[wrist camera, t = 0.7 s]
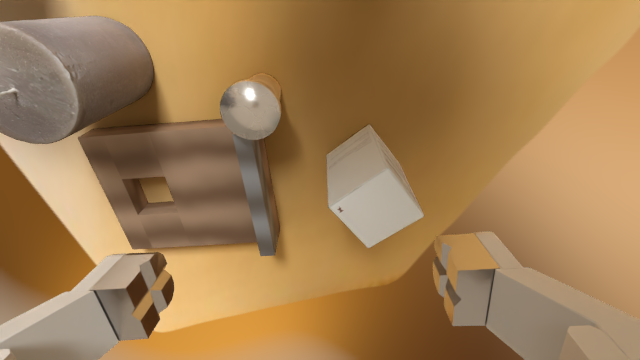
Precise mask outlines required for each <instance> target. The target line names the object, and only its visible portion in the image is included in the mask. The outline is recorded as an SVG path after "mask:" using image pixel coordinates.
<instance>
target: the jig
mask: <svg viewBox="0 0 640 360" xmlns="http://www.w3.org/2000/svg"><path fill="white" fill-rule="evenodd" d="M78 140H79V142H80V144H81V146H82V148H83V150H84V152H85V154H86V156H87V158H88V160H89V162H90V164H91V166H92V168H93V170H94V172H95V174H96V176H97V178H98V180H99V182H100V184H101V186H102V188H103V190H104V192H105V194H106V196H107V198H108V200H109V202H110V204H111V206H112V208H113V210H114V212H115V214H116V216H117V218H118V220H119V223H120V225H121V227H122V229H123V231H124V233H125V235H126V237H127V239H128V241H129V243H130V245H131V247H132V249H148V248H166V247H183V246H200V245H217V244H235V243H252V242H258V247H259V251H260V255H261V256H272V255H275V253H276V247H277V242H278V237H279V232H280V225H279V219H278V214H277V208H276V203H275V197H274V192H273V186H272V181H271V176H270V170H269V165H268V159H267V154H266V148H265V143H264V138H262V139H258V140H249V139H244V138H242V137H239V136H237V135H236V134H234V133H233V132H232V131H231V130H230V129H229V128H228V127H227V126H226V125H225V123H224V121H223V119H216V120H203V121H190V122H177V123H165V124H152V125H139V126H126V127H113V128H101V129H92V130H91V131H89V132H87V133H85V134H84V135H82V136H80V137H78ZM163 176H165V179H166V181H167V184H168V187H169V189H170V192H171V195H172V198H173V200H174V202H160V203H148V202H147V199H146V197H145V195H144V192H143V190H142V187H141V185H140V183H139V180H138V178H149V177H163Z"/></svg>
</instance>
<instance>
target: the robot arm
mask: <svg viewBox="0 0 640 360" xmlns="http://www.w3.org/2000/svg"><path fill="white" fill-rule="evenodd" d="M434 249H435V251H436V254H437V257H436V258H435V259H434V260H433V275H434V282H435V285H436V288H437V291H438V293H439V294H440V295H441V296H443V297H444V308H445V310H446V312H447V315H448V317H449V319H450V321H451V324H452V326H484V325H485V326H486V327H487V328H488V329H489V330H490V331H492V332H493V333H494V334H495V335H496V336H497V337H498V338H500V339H501V340H502V341H503V342H505V343H506V344H507V345H508V346H509V347H510V348H512V349H513V350H514V351H515V352H516V353H518V354H519V355H520V356H521V357H523V358H524V359H525V360H640V319H638V318H635V317H634V316H631V315H629V314H627V313H625V312H622V311H621V310H619V309H617V308H614V307H612V306H610V305H608V304H606V303H604V302H602V301H599V300H597V299H595V298H593V297H591V296H589V295H587V294H585V293H582V292H580V291H578V290H576V289H574V288H572V287H570V286H568V285H566V284H564V283H561V282H559V281H557V280H555V279H553V278H551V277H549V276H547V275H544V274H542V273H540V272H538V271H536V270H534V269H531V268H523V267H522V265H521V264H520V263H519V262H518V261H517V260H516V259H515V258H514V256H513V255H512V254H511V252H510V251H509V250H508V249H507V248H506V247H505V245H504V244H503V243H502V242H501V241H500V240H499V238H498V237H497V236H496V235H495V234H494V233H493V232H491V231H486V232H475V233H470V234H469V233H468V234H455V235H441V236H436V237H435V240H434ZM166 265H167V262H166V260H165V257H164V255H163V254H161V253H159V252H155V253H129V254H113V255H110V256H107V257H106V258H105V259H104V260H103V261H102V262H101V263H100V264H99V265H97V266H96V268H94V269H93V270H92V271H91V272H90V273H89V274H88V275H87V276H86V277H85V278H84V279H83V280H82V281H81V282H80V283H79V284H78V285H77V286H76V287H75V288H73V289H72V290H71V291H70V292H64V293H62V294H60V295H58V296H56V297H54V298H52V299H51V300H49V301H47V302H45V303H43V304H41V305H39V306H37V307H35V308H33V309H31V310H29V311H27V312H25V313H23V314H21V315H19V316H18V317H16V318H14V319H12V320H10V321H8V322H6V323H4V324H2V325H0V360H98V359H100V358H101V357H102V356H103V355H104V354H105V353H107V352H108V351H109V350H110V349H111V348H112V347H114V346H115V345H116V344H117V343H119V341H121V340H135V339H148V338H149V336H150V335H151V333H152V331H153V330H154V328H155V327H156V325H157V323H158V322H159V320H160V317H159V313H160V312H161V311H163V310H164V309H165V308H167V307H168V305H169V304H170V302H171V300H172V297H173V293H174V282H173V279H172V276H171V275H170V274H169V273H168V272H167V271H165V270H164V269H165V267H166Z"/></svg>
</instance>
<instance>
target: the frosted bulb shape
mask: <svg viewBox="0 0 640 360" xmlns="http://www.w3.org/2000/svg"><path fill="white" fill-rule="evenodd" d="M280 98H281V87H280V85H279V83H278V81H277V80H276V79H275V78H274V77H272V76H271V75H269V74H266V73H258V74H255V75H253V76H251V77H250V78H249V79H245V80H240V81H238V82H236V83H234V84H233V85H231V86H230V87H229V88H228V89H227V90H226V91H225V93H224V94H223V96H222V99H221V102H220V112H221V116H222V119H223V121H224V123H225V125H226V126H227V127H228V128H229V129H230V130H231V131H232V132H233V133H234V134H236V135H237V136H239V137H242V138H244V139H249V140H258V139H262V138H265V137H267V136H269V135H270V134H271V133H272V132H273V131H274V130H275V129H276V127H277V125H278V123H279V120H280V117H281V104H280Z"/></svg>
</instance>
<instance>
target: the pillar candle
mask: <svg viewBox="0 0 640 360" xmlns="http://www.w3.org/2000/svg"><path fill="white" fill-rule="evenodd" d="M153 74H154V71H153V63H152V59H151V57H150V54H149V52H148V50H147V48H146V46H145V44H144V43H143V42H142V40H141V39H140V38H139V37H138V36H137V34H135V33H134V32H133V31H132V30H131V29H130V28H129V27H127V26H126V25H124V24H122V23H120V22H117V21H115V20H112V19H110V18H106V17H100V16H87V17H85V16H83V17H65V18H53V19H38V20H21V21H8V22H0V133H3V134H4V135H7V136H9V137H11V138H14V139H16V140H20V141H25V142H29V143H34V144H49V143H53V142H57V141H59V140H62V139H64V138H66V137H68V136H70V135H72V134H74V133H76V132H77V131H79V130H81V129H83V128H85V127H87V126H89V125H91V124H92V123H94V122H96V121H98V120H100V119H102V118H104V117H106V116H108V115H110V114H112V113H114V112H116V111H117V110H119V109H121V108H123V107H125V106H127V105H129V104H131V103H133V102H134V101H136V100H138V99H140V98H141V97H142V96H144V95H145V94H146V93H147V92H148V90H149V88H150V87H151V85H152V81H153Z"/></svg>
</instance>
